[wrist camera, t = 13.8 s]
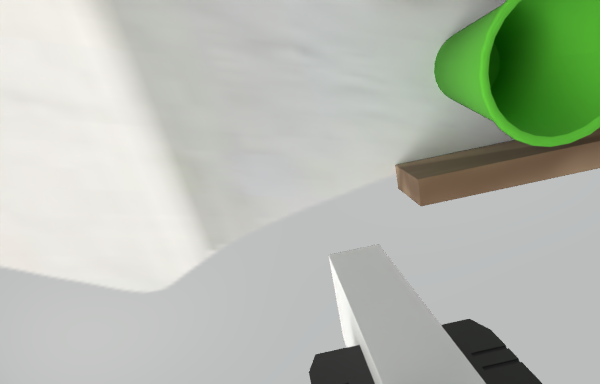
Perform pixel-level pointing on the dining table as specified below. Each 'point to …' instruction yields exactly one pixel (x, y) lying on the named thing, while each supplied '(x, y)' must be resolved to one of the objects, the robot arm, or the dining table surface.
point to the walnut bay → (494, 168)
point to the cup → (529, 69)
